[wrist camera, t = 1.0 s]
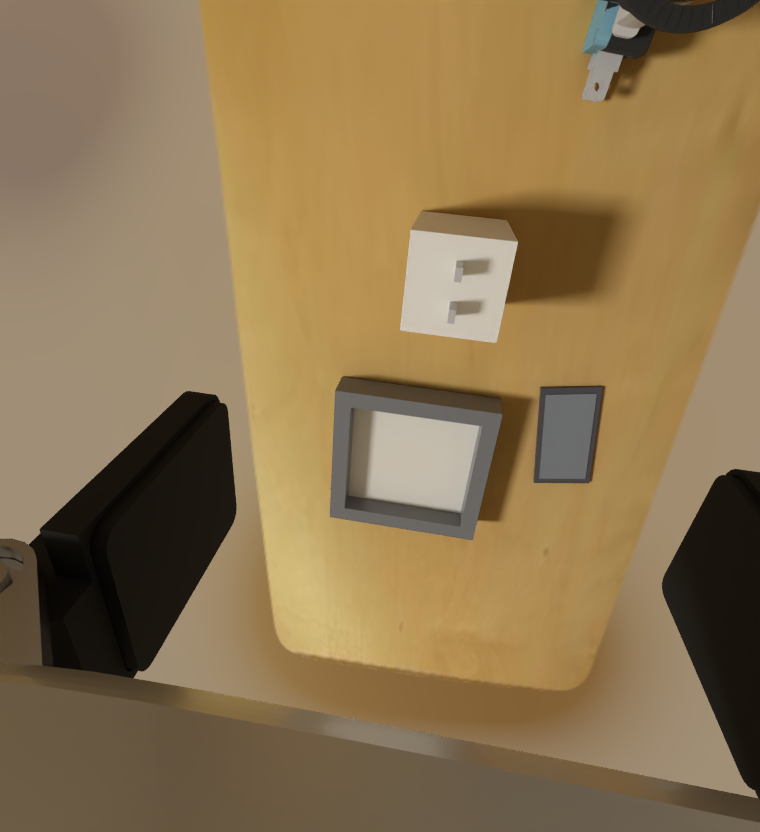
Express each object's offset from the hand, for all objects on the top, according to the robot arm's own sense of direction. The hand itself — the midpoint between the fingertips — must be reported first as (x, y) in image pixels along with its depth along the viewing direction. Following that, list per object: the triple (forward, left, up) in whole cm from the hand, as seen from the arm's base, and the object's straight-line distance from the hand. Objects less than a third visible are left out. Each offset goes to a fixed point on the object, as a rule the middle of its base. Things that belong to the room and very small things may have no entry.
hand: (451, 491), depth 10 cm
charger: (0, 0, -20) cm, 20 cm away
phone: (+10, +8, -21) cm, 24 cm away
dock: (+13, -1, -20) cm, 24 cm away
